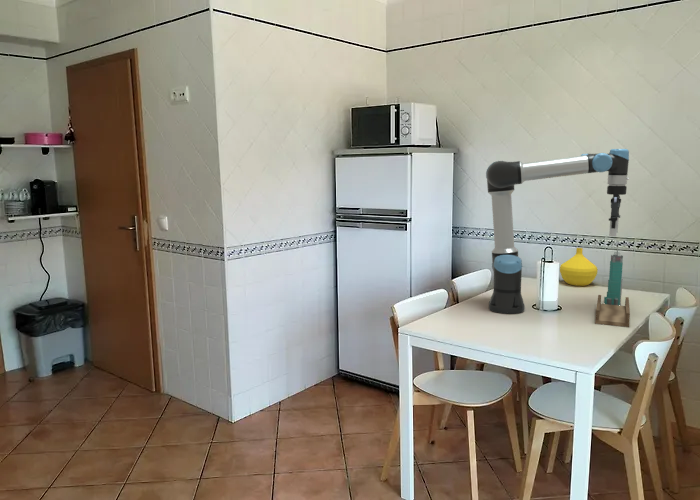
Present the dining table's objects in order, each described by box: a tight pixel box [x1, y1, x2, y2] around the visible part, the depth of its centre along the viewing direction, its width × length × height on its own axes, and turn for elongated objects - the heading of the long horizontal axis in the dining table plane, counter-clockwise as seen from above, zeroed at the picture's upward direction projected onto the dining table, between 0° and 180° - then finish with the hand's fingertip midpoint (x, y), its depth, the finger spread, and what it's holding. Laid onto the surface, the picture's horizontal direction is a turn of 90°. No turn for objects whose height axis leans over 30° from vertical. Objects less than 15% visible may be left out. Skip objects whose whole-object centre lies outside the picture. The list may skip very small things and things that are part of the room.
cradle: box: [594, 294, 631, 328], centre depth 228 cm, size 12×28×6 cm, turn 154°
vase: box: [559, 247, 599, 287], centre depth 287 cm, size 18×18×19 cm
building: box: [603, 245, 624, 306], centre depth 244 cm, size 6×6×30 cm
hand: (613, 234), depth 239 cm, fingers open, 13 cm apart
